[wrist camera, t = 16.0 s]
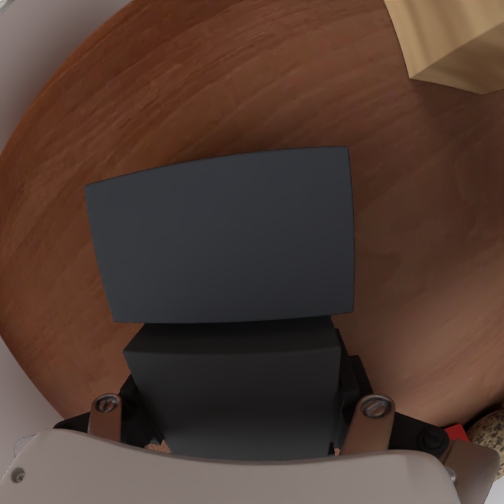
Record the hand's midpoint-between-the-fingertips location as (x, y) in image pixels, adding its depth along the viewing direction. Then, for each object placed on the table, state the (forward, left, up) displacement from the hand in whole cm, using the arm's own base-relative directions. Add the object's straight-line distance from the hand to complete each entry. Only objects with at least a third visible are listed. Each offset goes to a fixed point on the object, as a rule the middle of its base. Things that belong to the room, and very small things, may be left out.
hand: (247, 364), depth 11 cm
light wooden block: (+11, +15, -1) cm, 18 cm away
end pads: (0, 0, -1) cm, 1 cm away
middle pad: (0, 0, 0) cm, 0 cm away
